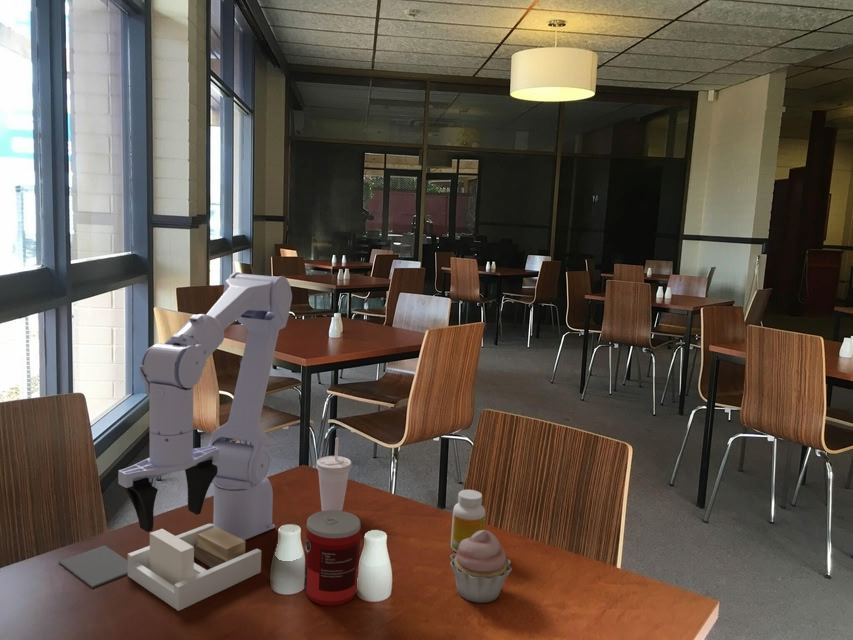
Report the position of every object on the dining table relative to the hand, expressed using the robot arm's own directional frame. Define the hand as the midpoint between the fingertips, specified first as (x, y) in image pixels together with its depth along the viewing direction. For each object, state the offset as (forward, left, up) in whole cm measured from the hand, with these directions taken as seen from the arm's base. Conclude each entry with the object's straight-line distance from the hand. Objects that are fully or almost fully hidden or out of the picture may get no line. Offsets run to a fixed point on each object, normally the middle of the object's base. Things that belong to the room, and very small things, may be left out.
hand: (171, 520), depth 97 cm
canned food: (-14, +18, -10) cm, 25 cm away
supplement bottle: (-39, +25, -10) cm, 48 cm away
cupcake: (-29, +34, -10) cm, 46 cm away
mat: (+5, -12, -10) cm, 16 cm away
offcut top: (-9, 0, -8) cm, 12 cm away
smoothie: (-33, -1, -10) cm, 35 cm away
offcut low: (-8, 0, -10) cm, 13 cm away
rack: (-4, 0, -10) cm, 11 cm away
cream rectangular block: (0, 0, -10) cm, 10 cm away
